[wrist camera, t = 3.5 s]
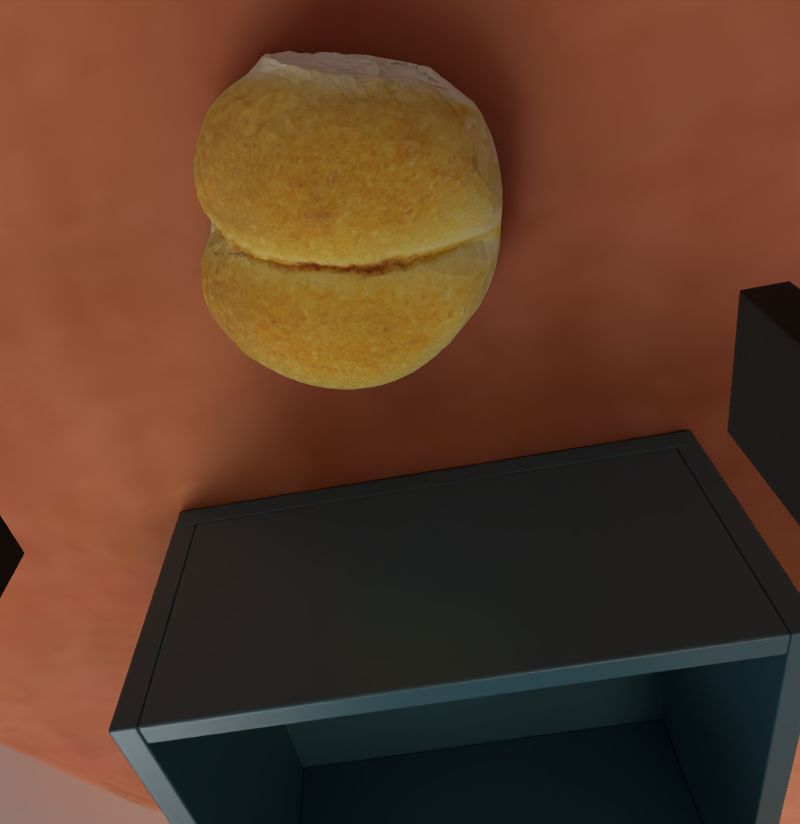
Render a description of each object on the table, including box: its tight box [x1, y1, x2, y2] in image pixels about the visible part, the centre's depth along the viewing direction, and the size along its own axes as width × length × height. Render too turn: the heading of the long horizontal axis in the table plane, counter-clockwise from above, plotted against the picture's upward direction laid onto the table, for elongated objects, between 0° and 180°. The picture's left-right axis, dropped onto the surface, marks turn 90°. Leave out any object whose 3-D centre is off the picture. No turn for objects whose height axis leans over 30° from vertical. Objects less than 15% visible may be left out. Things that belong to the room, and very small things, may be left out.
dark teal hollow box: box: [109, 431, 800, 824], centre depth 27 cm, size 17×19×9 cm
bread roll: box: [193, 51, 503, 390], centre depth 19 cm, size 8×9×4 cm
